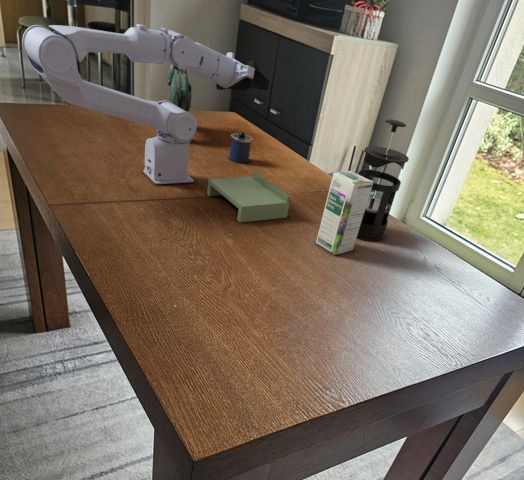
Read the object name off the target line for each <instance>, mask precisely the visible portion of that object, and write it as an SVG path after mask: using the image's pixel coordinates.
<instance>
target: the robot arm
mask: <svg viewBox="0 0 524 480" xmlns="http://www.w3.org/2000/svg"><path fill="white" fill-rule="evenodd" d="M135 25H136V27H134V26H131V27H129V28H128V29H127V30H126V31H125V32H123V33H119V32H112V31H106V30H100V29H93V28H87V27H81V26H80V27H79V26H73V25H60V24H59V25H58V24H52V25H48V27H46V26H44V25H42V24H34V25H30V26H29V27H27V29H25V31H24V32H23V35H22V37H21V38H22V39H21V45H22V49H23V51H24V52H23V53H24V54H25V57H26V58H27V60H28V63H29V64H30V66H31V67H32V68H33V69H34V71H35V72H37V73H38V74H39V76H40V77H41V78H42V79H43V80H44V81H45V82H46V83H47V84H48V85H49V87H50V88H51V89H52V90H53V91H54V93H56V95H58V96H59V98H60V99H62V100H63V101H64V102H66V103H67V104H69V105H71V106H75V107H78V108H83V109H85V110H89V111H93V112H96V113H100V114H104V115H108V116H111V117H115V118H117V119H118V118H119V119H121V120H124V121H129V122H133V123H135V124H140V125H143V126H147V127H150V128H152V129H154V130H156V136H154V137H149V138H146V141H145V144H144V169H143V170H142V172H143V174H145V175H146V176H147V177H148V178H149V179H150V180H151V181H152V182H153V183H154V184H156V185H170V184H187V183H190V184H191V183H194V182H195V180H194V178H192V177H191V176H190V175H188V172H189V171H188V169H189V155H190V154H189V153H190V143H191V140H192V139H193V138H194V137H195V135H196V133H197V128H198V122H197V119H196V117H195V116H194V115H193V113H191V112H190V111H189V112H186V111H184V110H183V109H181V108H179V107H177V106H176V105H174V104H173V103H172V102H170V100H167V99H165V100H160V101H157V100H156V101H155V100H153V99H150V100H147V99H145V98H141V97H138V96H135V95H131V94H128V93H125V92H122V91H118V90H116V89H112V88H109V87H106V86H104V85H100V84H97V83H94V82H90V81H88V80H84V79H82V76H81V75H80V72H79V70H78V68H79V67H78V62H79V63H81V62H83V60H84V59H85V57H86V55H87V54H88V53H100V54H124V55H126V57H127V58H128V59H129V60H130V61H131V62H133V63H144V64H157V65H164V64H167V63H168V64H169V65H170V64H172V65H174V66H176V67H177V68H179V69H187V72H189V73H191V74H194V75H196V76H198V77H201V78H203V79H205V80H207V81H210V82H213V83H215V89H216V90H217V91H222V90H223V91H224V90H235V91H242V92H246V91H247V90H249V89H250V90H251V89H256V90H262V91H268V90H269V86H270V79H269V78H268V77H266V75H264V74H263V73H262V71H260V69H259V68H258V65H257V63H256V62H255V61H254V60H248V61H247V65H246V64H243V63H242V62H241V61H239V60H238V59H235V53H234V52H232V51H229V52H227V53H226V54H222V53H221V52H219V51H216V50H214V49H213V48H210V47H208V46H206V45H204V44H203V43H200V42H196V41H195V40H193V39H192V38H191V37H190V36H188V35H184V34H181V33H180V32H176V31H174V30H172V29H171V30H170V29H168V28H164V27H160V29H149V28H147V26H146V25H144V24H141V23H136V24H135ZM49 28H51V30H50V29H49ZM52 30H53V31H52Z"/></svg>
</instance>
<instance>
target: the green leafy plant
mask: <svg viewBox="0 0 524 480" xmlns="http://www.w3.org/2000/svg"><path fill="white" fill-rule="evenodd" d="M168 69H169V70H168V76H167V85H168V86H169V87H170V88H169V101H170V102H172V103H173V104H174V105H176V106H177V107H179V108H181V109H183V110H184V111H186V112H189V113H190V109H191V105H192V103H191V101H192V84H191V83H190V81H189V77H188V70H187V69H179V68H177V67H176V66H174V65H172V64H170V63H169V68H168Z"/></svg>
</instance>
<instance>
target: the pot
mask: <svg viewBox="0 0 524 480" xmlns="http://www.w3.org/2000/svg"><path fill="white" fill-rule="evenodd" d="M253 140H254V139H253V137H252V136H250V135H248V134H246V133H245V132H244V131H240V132H239V133H231V134H230V141H231V142H230V148H229V156H228V157H229V160H230V161H232V162H234V163H238V164H247V163H249V160H250V152H251V145H252V142H253Z"/></svg>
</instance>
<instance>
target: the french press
mask: <svg viewBox="0 0 524 480" xmlns="http://www.w3.org/2000/svg"><path fill="white" fill-rule="evenodd" d="M384 122H385V123H386V124H387V125H390V126H391V130H390V132H391V135H390V139H389V141H388V145H387V147H383V146H374V145H371V146H366V147H365V148H364V153H365V155H364V160H363V162H364V163H365V164H367V165H368V166H370V167H373V168H376V169H377V168H378V169H379V168H380V171H379V170H375V169H371V168H369V167H362V168H361V170H359V171H358V172H357V174H358V175H360V176H362V177H364V178H366V179H369V180H372V179H373V178H378V179H377V181H376V182H373V185H372V188H371V191H372V190H373V191H374V192H373V195H372V196H369V198H368V202H367V205H366V208H365V211H364V215H363V218H362V222H361V225H360V228H359V231H358V235H357V238H356V239H358V240H363V241H367V242H379V241H382V240H384V239H385V236H386V230H387V226H388V223H389V220H388V218H389V216H390V212H391V210H392V206H393V202H394V199H395V196H396V193H397V192H398V191H399V190H400V188H401V184H402V181H401V180H400V179H399V178H398V177H396V176H395V175H392V174H389V173H387V172H383V170H384V166H386V165H389V164H397V165H398V166H400V168H401V170H404V168H405V165H406V163H408V162H409V160H410V158H409V156H407V155H406V154H404V153H403V152H400V151H398V150H395V149H392V148H391V144H392V140H393V137H394V134H395V133H396V132H397V129H398V127H399V128H406V127H407V124H406V123H405V122H403V121H400V120H397V119H385V121H384ZM380 180H385V181H387V182H390V183H391V184H392V185H385V184H380ZM377 192H381V193H382V195H381V198H377V197H376V194H377Z"/></svg>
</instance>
